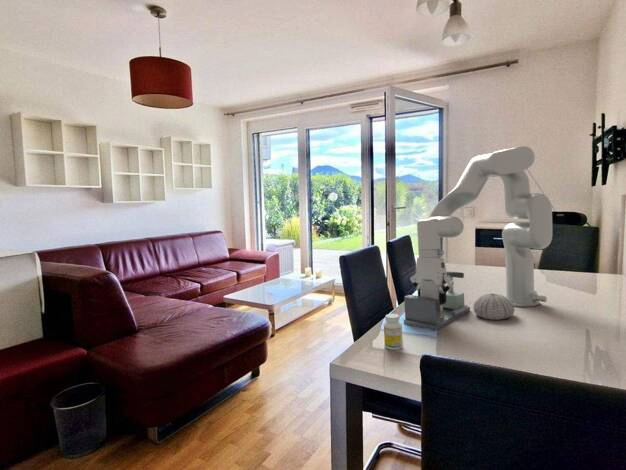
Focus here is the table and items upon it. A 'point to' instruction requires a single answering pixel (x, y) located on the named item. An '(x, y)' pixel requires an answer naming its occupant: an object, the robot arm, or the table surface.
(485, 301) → the sea urchin shell
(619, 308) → the table surface
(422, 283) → the can
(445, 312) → the base
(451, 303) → the grey-green handled block
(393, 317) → the supplement bottle
